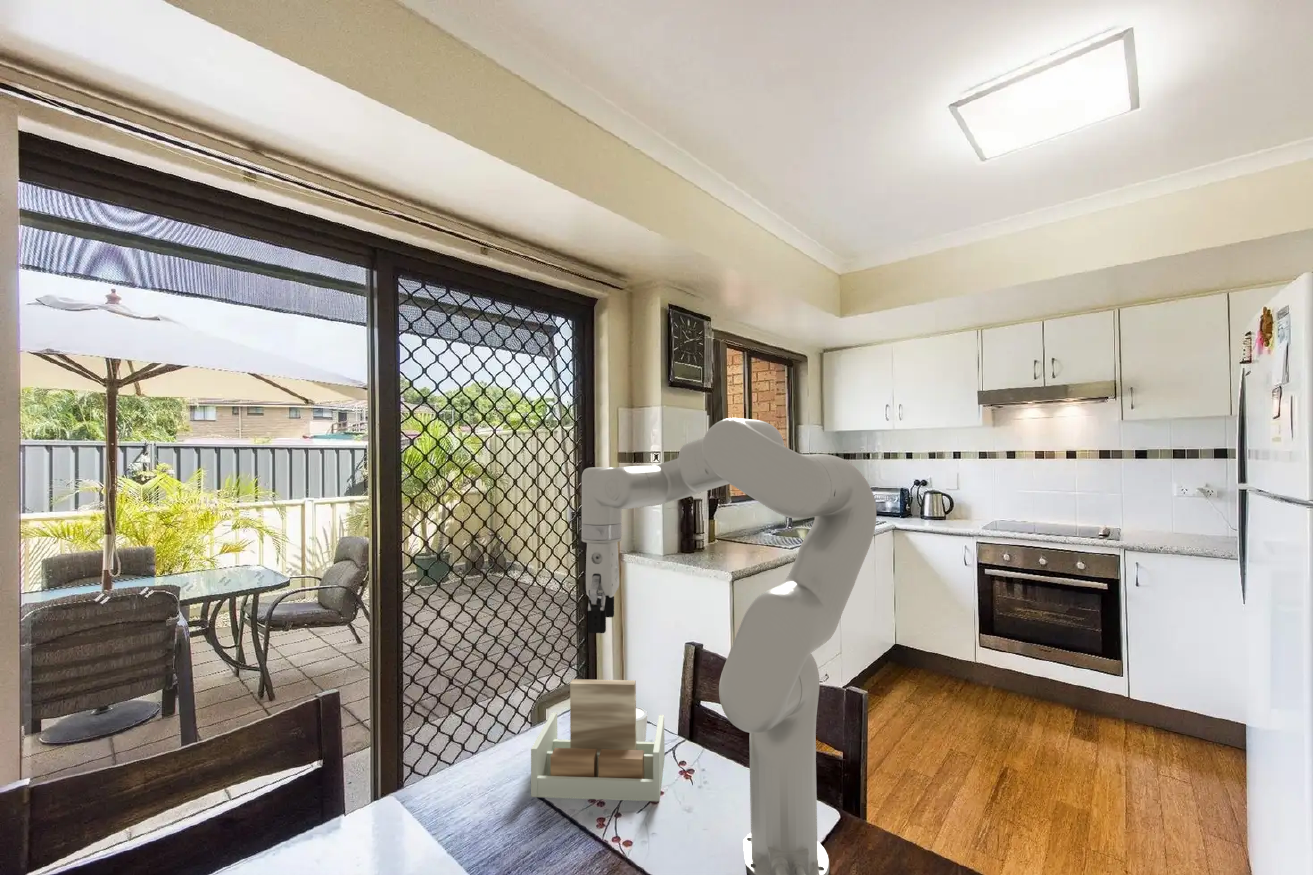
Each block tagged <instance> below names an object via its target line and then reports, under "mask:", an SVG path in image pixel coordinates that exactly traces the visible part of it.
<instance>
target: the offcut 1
mask: <svg viewBox="0 0 1313 875" xmlns="http://www.w3.org/2000/svg"><path fill="white" fill-rule="evenodd" d="M551 776H567V777H597V749H579V748H555V749H554V751H553V753H552V755H551Z"/></svg>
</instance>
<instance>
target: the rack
mask: <svg viewBox="0 0 1313 875" xmlns="http://www.w3.org/2000/svg"><path fill="white" fill-rule="evenodd" d="M656 726H657V727H656V731H655V738H654V741H645V742H638V741H636V750H644V779H629V778H599V770H598V758H599V755H600V753H597V777H567V776H551V755H552V753H553V751H554V749H555V748H570V739H562V738H561V739H559V738H558V712H557V711H556V712H555V711H553V712H551V713H550V716H549V717H548V719H547V721H546V722H545V724H544V725H543V727H542V729H541V731H540V733H539V734H538V735H537V737H536V740H535V741H534V743H533V745H532V746H531V748H530V797H531V798H549V799H550V798H551V799H552V798H553V799H555V798H556V799H578V800H579V799H581V800H582V799H583V800H609V801H611V800H612V801H632V802H633V801H637V802H640V801H641V802H660V799H661V791H662V782H663V774H664V766H665V748H666V747H665V714H658V719H657V724H656Z"/></svg>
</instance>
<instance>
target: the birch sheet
mask: <svg viewBox="0 0 1313 875" xmlns="http://www.w3.org/2000/svg"><path fill="white" fill-rule="evenodd" d="M636 687H637V684H636V680H634V679H633V680H630V679H629V680H627V679H624V680H623V679H585V678H584V679H580V678H579V679H577V678H575V679H574V678H572V680H571V681H570V683H569V691H570V692H569V703H570V705H569V709H570V710H569V713H570V714H569V715H570V720H569V721H570V722H569V724H570V726H569V728H570V732H569V733H570V736H569V737H570V739H569V740H570V748H579V749H597V753H600V752H601V749H614V750H636V707H637V695H636V694H637V688H636Z"/></svg>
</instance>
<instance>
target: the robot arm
mask: <svg viewBox="0 0 1313 875" xmlns="http://www.w3.org/2000/svg"><path fill="white" fill-rule="evenodd" d="M726 485H731V486H733V487H734V488H736V489H737V490H740V491H741V492H742V493H743V494H745V495H746V496H749V497H750V498H752V499H754V500H755V501H757V502H758V503H760V504H761V505H763V506H765V507H766V508H768V509H770V510H771V511H773V512H774V513H776V514H779V515H781V516H784V517H786V518H789V519H790V518H791V519H799V520H801V519H802V520H803V519H809V518H810V519H811V518H812V517H813V518H814V521H813V523H812V525H811V527H810V529H809V530H808V532H807V534H806V535H805V536H804V539H803V541H802V543H801V544H800V546H799V549H798V552H797V554H796V558H795V560H794V562H793V565H792V567H791V569H790V571H789V573H788V574H787V577H786V578H785V580H784V581H782V582H781V583H780V584H779V585H777V586H774V587H772V588H770V589H767V590H765V591H764V592H762V593H761V594H759V595H758V596H757V597H756V598H755V599H754V600H753V601H752V602H751V604H750V606H748V608H747V610H746V611H745V614H744V615H743V618H742V621H741V622H740V625H739V628H738V630H737V632H736V635H735V637H734V640H733V643H732V645H731V648H730V650H729V653H728V655H727V658H726V660H725V663H724V666H723V668H722V671H721V675H720V677H719V678H720V679H719V685H718V696H719V697H718V698H719V702H720V705H721V707H722V711H723V713H724V715H725V716H726V718H727V719H728V721H729V722H730V723H731V724H732V725H733V726H735V727H736V728H737V729H739V730H740V731H743V732H745V733H749V796H750V799H749V800H750V803H749V804H750V805H749V806H750V807H749V808H750V810H749V811H750V833H748V834H747V835H746V836H745V837H744V839H743V840H742V843H743V855H744V862H745V870H746V873H747V874H748V875H829V873H830V859H829V855H828V853H827V850H826V849H825V847H824V846H823V845H822V844H821V843H820V842H819V841H818V806H817V805H818V804H817V803H818V801H817V800H818V797H817V796H818V795H817V762H816V761H817V759H816V758H817V744H816V743H817V741H816V735H817V734H816V733H817V732H816V731H817V712H818V705H819V696H820V673H819V667H818V665H817V661H816V660H815V657H814V656H813V654H812V653H814V652H815V651H817V650H818V649H819V648H820V647H821V646H823V645H825V644H826V643H827V642H828V641H829V640H830V639H832V637H833V635H834V634H835V632H836V630H837V628H838V626H839V623H840V622H841V621H840V620H841V618H842V615H843V613H844V610H845V608H846V606H847V602H848V600H849V598H850V596H851V595H852V594H851V593H852V591H853V588H854V587H855V583H856V581H857V579H858V575H859V574H860V571H861V569H862V566H863V564H864V562H865V559H866V556H867V555H868V551H869V549H870V546H871V544H872V542H873V538H874V536H875V534H874V533H875V531H876V530H875V529H876V524H877V504H876V500H875V495H874V492H873V490H872V488H871V486H870V484H869V482H868V481H867V479H866V478H865V476H864V475H863V473H862V472H861V471H860V470H859V469H858V467H856V466H855V465H853V464H852V463H851V462H849V461H847V460H846V459H845V458H843V457H839V456H837V455H831V454H826V453H825V454H823V453H822V454H820V453H819V454H818V453H816V454H813V453H812V454H801V453H798V452H797V451H794V450H792V449H790V448H789V447H787V446H785V442H784V439H783V436H782V434H781V433H780V431H779V430H778V428H776V427H775V426H774V425H772V424H770V423H769V422H766V421H763V420H761V419H760V420H759V419H751V418H750V419H749V418H738V417H732V418H731V417H729V418H723V419H722V420H719V421H717V422H716V423H714V424H713V425H711V427H710V428H708V430H707V431H706V433H705V435H704V436H703V437H700V438H698V439H695V440H692V441H688V442H686V443H684V445H683V444H682V446H681V448H680V449H679V452H678V455H677V458H674V459H671V460H669V461H665V462H663V463H659V464H656V465H634V466H618V467H611V466H596V467H587V468H585V469H584V470H583V472H582V474H581V542H583V543H586V552H585V555H586V556H585V557H586V559H585V560H586V561H585V562H586V563H585V591H586V595H587V596H588V598H589V599H588V603H587V604H588V606H587V633H589V634H605V633H606V631H607V618H614V616H615V594H616V593H617V591H618V590H619V587H620V572H619V570H620V568H619V565H620V564H619V547H618V542H621V541H622V540H623V539H622V535H623V534H622V533H623V532H622V528H623V527H622V525H623V524H622V523H623V522H622V516H623V515H622V514H623V511H622V510H628V509H629V510H630V509H637V508H644V507H645V508H646V507H655V506H659V505H660V506H661V505H665V504H667V503H671V502H675V501H678V500H682V499H685V498H689V497H692V496H695V495H698V494H702V493H703V492H707V491H710V490H714V489H717V488H719V487H724V486H726Z"/></svg>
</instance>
